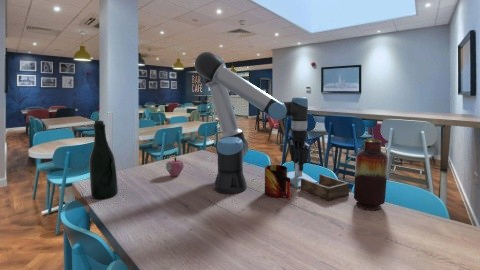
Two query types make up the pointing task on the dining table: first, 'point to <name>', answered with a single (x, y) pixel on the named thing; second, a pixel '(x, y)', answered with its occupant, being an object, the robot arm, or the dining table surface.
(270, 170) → the mug
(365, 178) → the vase
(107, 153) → the beer bottle
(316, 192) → the crate
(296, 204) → the dining table surface
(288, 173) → the pale blue square panel
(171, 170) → the apple
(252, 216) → the dining table surface
